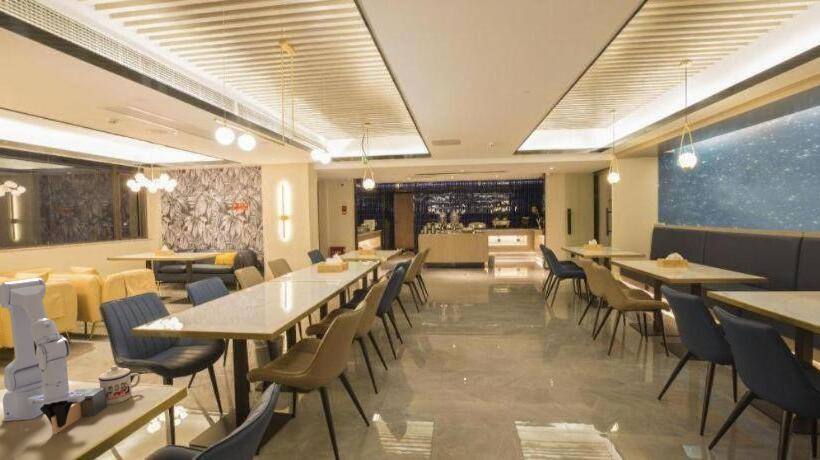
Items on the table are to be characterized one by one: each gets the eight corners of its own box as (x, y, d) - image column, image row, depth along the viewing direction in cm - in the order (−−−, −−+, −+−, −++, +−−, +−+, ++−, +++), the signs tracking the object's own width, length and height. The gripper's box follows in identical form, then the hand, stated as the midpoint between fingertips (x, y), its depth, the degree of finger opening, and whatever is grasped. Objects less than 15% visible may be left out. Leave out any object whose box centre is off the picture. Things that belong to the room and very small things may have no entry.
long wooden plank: (52, 434, 122) (51, 417, 122) (82, 414, 134) (81, 398, 134) (56, 434, 122) (54, 417, 122) (85, 413, 134) (84, 398, 134)
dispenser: (63, 418, 131) (61, 398, 131) (78, 408, 138) (76, 389, 138) (92, 417, 132) (91, 396, 131) (106, 407, 138) (105, 387, 138)
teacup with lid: (104, 408, 138) (101, 373, 137) (97, 400, 144) (94, 367, 143) (145, 394, 147) (143, 362, 146) (137, 388, 153) (135, 356, 152)
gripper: (17, 388, 119) (21, 434, 120) (71, 385, 120) (74, 431, 120) (38, 378, 126) (42, 422, 127) (88, 375, 127) (91, 419, 128)
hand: (59, 426), depth 124 cm, fingers closed on long wooden plank
